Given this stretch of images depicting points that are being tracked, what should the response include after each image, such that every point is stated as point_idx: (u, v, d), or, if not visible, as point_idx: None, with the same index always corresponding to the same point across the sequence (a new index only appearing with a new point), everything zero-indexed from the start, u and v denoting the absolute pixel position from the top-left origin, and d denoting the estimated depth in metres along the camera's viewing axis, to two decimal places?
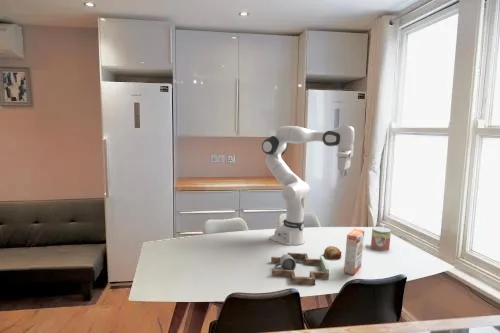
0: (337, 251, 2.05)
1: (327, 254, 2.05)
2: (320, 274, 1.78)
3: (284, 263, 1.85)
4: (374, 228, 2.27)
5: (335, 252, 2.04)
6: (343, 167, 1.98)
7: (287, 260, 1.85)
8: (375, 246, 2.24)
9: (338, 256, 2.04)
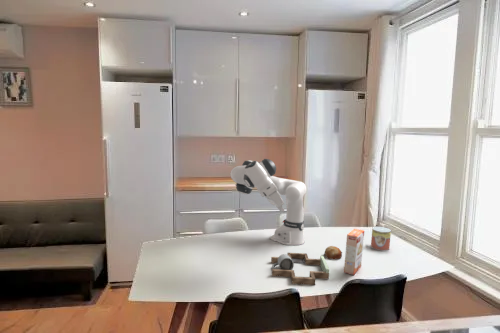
0: (338, 251, 2.05)
1: (328, 254, 2.05)
2: (320, 274, 1.78)
3: (282, 263, 1.85)
4: (374, 228, 2.27)
5: (336, 252, 2.04)
6: (282, 200, 1.73)
7: (285, 260, 1.85)
8: (375, 246, 2.24)
9: (339, 256, 2.05)
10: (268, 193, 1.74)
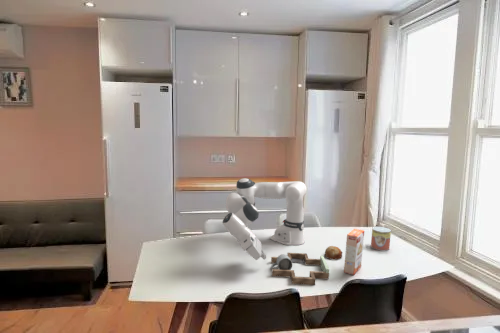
0: (338, 251, 2.05)
1: (328, 254, 2.05)
2: (320, 274, 1.78)
3: (281, 263, 1.85)
4: (374, 228, 2.27)
5: (336, 252, 2.04)
6: (258, 254, 1.77)
7: (284, 260, 1.85)
8: (375, 246, 2.24)
9: (339, 256, 2.05)
10: (244, 248, 1.78)
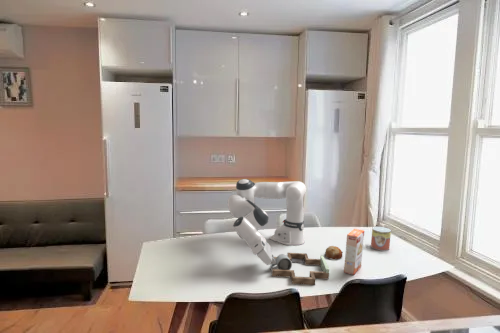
0: (338, 251, 2.05)
1: (328, 254, 2.05)
2: (320, 274, 1.78)
3: (280, 263, 1.85)
4: (374, 228, 2.27)
5: (336, 252, 2.04)
6: (269, 259, 1.76)
7: (283, 260, 1.85)
8: (375, 246, 2.24)
9: (339, 256, 2.05)
10: (255, 252, 1.77)
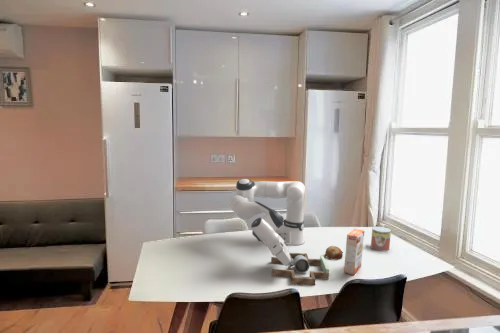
0: (338, 251, 2.05)
1: (328, 254, 2.05)
2: (320, 274, 1.78)
3: (297, 264, 1.85)
4: (374, 228, 2.27)
5: (336, 252, 2.04)
6: (288, 260, 1.75)
7: (300, 261, 1.84)
8: (375, 246, 2.24)
9: (339, 256, 2.05)
10: (274, 253, 1.77)
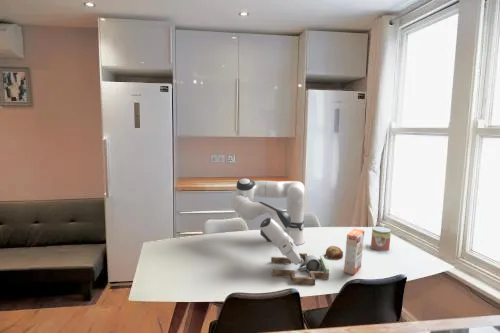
0: (339, 251, 2.05)
1: (329, 254, 2.05)
2: (320, 274, 1.78)
3: (309, 264, 1.85)
4: (374, 228, 2.27)
5: (337, 252, 2.05)
6: (298, 259, 1.76)
7: (312, 261, 1.85)
8: (375, 246, 2.24)
9: (340, 256, 2.05)
10: (284, 253, 1.77)
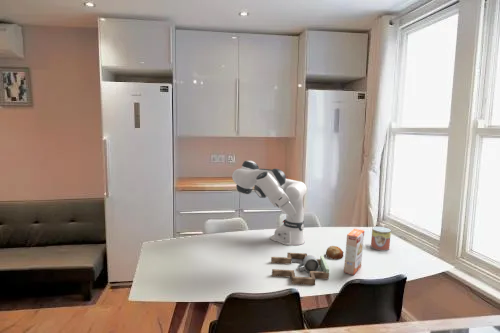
0: (339, 251, 2.06)
1: (329, 254, 2.05)
2: (320, 274, 1.78)
3: (307, 264, 1.85)
4: (374, 228, 2.27)
5: (337, 252, 2.05)
6: (294, 211, 1.75)
7: (310, 261, 1.85)
8: (375, 246, 2.24)
9: (340, 256, 2.05)
10: (280, 204, 1.76)
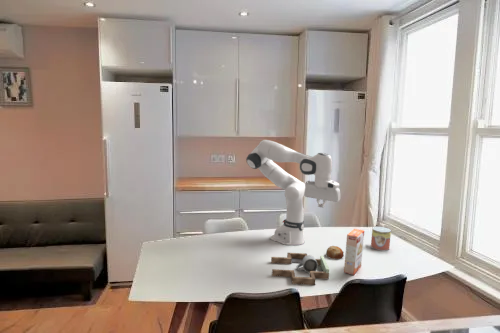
0: (339, 251, 2.06)
1: (329, 254, 2.05)
2: (320, 274, 1.78)
3: (306, 264, 1.85)
4: (374, 228, 2.27)
5: (337, 252, 2.05)
6: None
7: (309, 261, 1.85)
8: (375, 246, 2.24)
9: (340, 256, 2.05)
10: (336, 186, 1.89)
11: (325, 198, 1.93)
